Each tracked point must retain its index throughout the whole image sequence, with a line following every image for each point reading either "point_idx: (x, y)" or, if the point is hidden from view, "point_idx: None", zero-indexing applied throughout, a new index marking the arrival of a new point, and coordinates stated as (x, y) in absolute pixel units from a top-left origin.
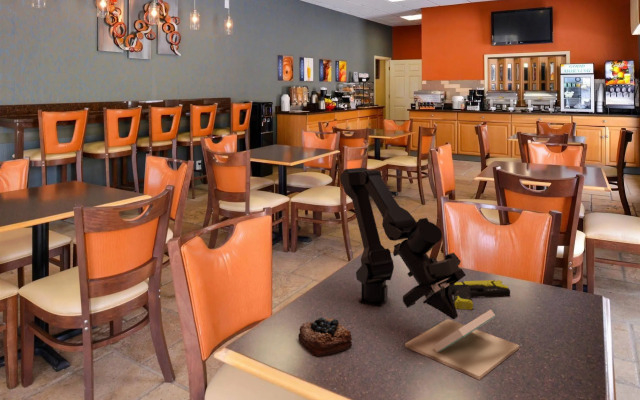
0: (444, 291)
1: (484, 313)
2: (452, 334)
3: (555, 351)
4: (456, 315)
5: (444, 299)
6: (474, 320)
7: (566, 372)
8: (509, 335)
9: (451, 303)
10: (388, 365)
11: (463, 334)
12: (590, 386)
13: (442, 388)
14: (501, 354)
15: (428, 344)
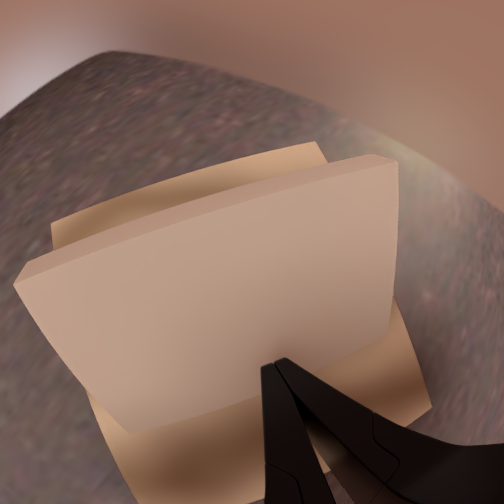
0: (453, 501)
1: (88, 254)
2: (394, 214)
3: (7, 179)
4: (276, 367)
5: (411, 452)
6: (233, 203)
7: (79, 102)
8: (15, 313)
9: (310, 442)
10: (490, 315)
11: (368, 155)
12: (97, 64)
13: (415, 170)
14: (149, 200)
15: (367, 381)
